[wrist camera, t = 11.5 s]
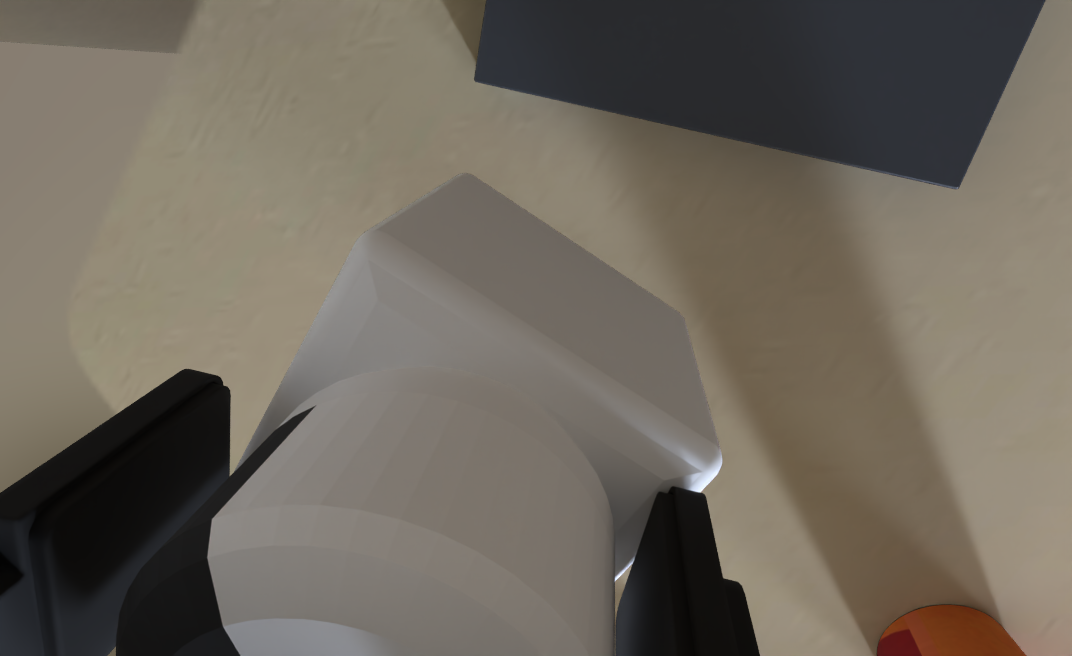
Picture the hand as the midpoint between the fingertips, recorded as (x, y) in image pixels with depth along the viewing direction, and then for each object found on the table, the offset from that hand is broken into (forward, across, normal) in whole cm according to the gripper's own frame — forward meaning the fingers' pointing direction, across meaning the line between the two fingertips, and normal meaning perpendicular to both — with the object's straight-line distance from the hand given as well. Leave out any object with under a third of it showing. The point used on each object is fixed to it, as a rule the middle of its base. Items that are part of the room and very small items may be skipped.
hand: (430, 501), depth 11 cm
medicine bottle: (+8, 0, 0) cm, 8 cm away
